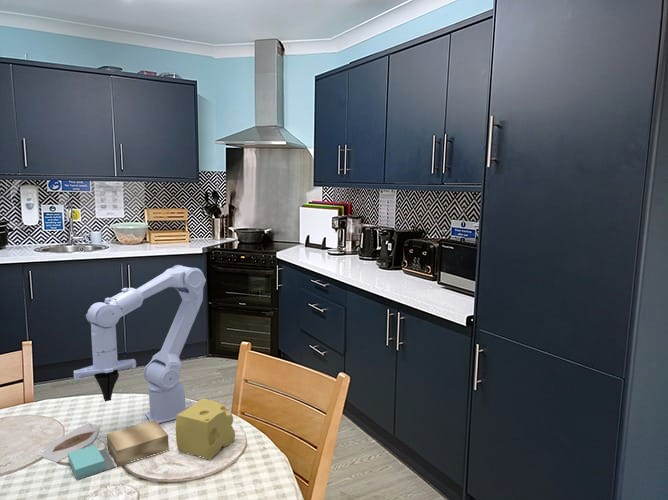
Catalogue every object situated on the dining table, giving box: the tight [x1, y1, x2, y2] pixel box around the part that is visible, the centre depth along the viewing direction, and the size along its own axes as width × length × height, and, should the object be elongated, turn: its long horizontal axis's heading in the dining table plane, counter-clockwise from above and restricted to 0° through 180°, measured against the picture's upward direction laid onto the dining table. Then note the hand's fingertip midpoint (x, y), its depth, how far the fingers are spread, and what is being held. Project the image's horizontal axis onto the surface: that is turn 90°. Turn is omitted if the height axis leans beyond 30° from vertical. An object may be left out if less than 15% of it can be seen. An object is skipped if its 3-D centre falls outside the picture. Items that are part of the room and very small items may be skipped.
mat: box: [76, 448, 116, 481], centre depth 113 cm, size 8×10×1 cm
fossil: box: [38, 422, 101, 464], centre depth 123 cm, size 16×1×10 cm
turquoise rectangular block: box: [67, 444, 105, 479], centre depth 112 cm, size 6×9×2 cm, turn 38°
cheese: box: [175, 398, 236, 460], centre depth 120 cm, size 10×11×10 cm
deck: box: [106, 420, 170, 468], centre depth 119 cm, size 12×10×4 cm
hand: (107, 399), depth 124 cm, fingers closed
